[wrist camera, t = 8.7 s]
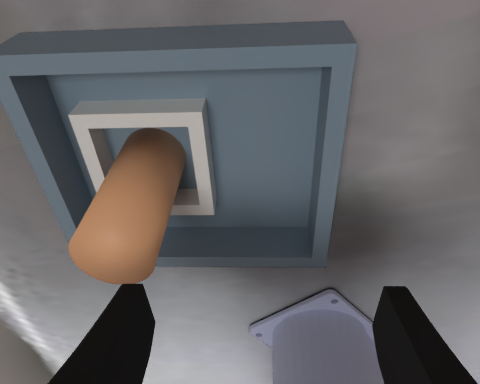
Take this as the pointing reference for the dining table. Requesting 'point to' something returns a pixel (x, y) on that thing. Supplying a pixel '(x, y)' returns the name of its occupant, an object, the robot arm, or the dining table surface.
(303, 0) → the dining table surface
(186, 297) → the dining table surface
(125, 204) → the peg
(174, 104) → the tray box
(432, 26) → the dining table surface
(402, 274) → the dining table surface
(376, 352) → the robot arm
